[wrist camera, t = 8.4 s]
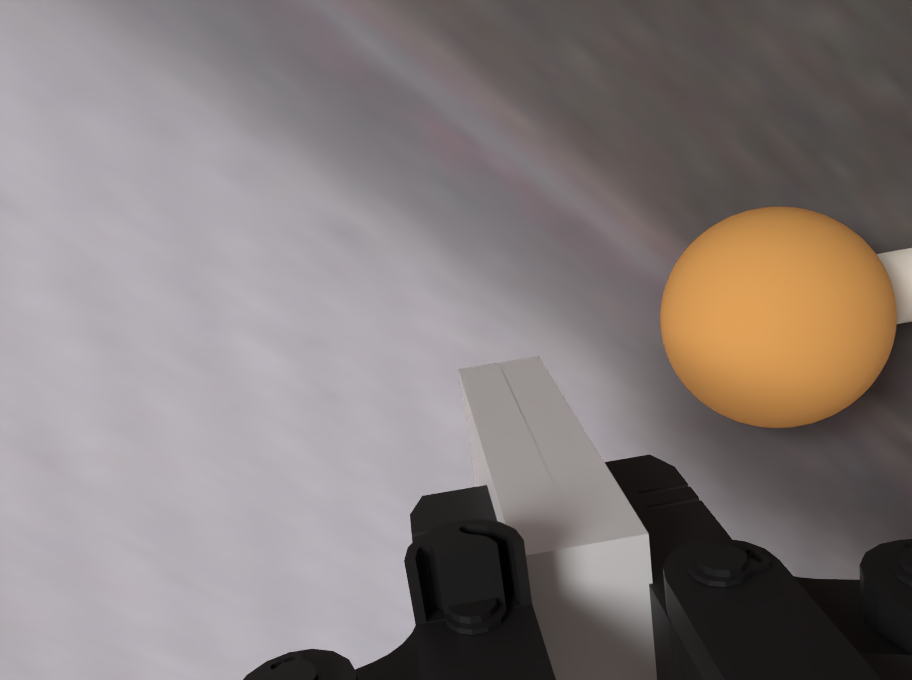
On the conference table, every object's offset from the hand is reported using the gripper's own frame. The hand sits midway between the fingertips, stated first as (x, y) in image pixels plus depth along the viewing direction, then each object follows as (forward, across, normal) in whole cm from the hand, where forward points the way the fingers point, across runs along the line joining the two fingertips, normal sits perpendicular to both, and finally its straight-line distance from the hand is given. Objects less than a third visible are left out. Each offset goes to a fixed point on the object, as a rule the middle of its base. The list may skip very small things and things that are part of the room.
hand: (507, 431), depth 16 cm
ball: (+5, +8, 0) cm, 9 cm away
